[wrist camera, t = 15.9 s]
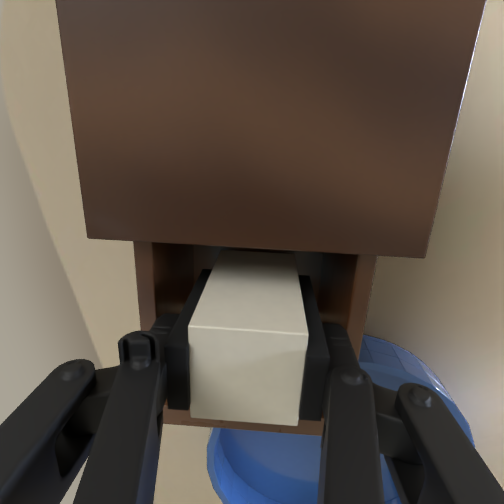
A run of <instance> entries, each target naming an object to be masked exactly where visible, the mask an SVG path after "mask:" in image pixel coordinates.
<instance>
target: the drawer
mask: <svg viewBox="0 0 504 504" xmlns="http://www.w3.org/2000/svg"><path fill="white" fill-rule="evenodd" d="M133 244H134V255H135V267H136V279H137V291H138V303H139V314H140V326H141V330H142V331H149V330H150V329H151V327H152V325H153V324H154V322H155V320H156V319H157V318H158V317H160V316H161V315H163V314H164V313H175V314H180V313H181V311H182V309H183V307H184V305H185V303H186V301H187V299H188V297H189V295H190V293H191V291H192V289H193V287H194V285H195V283H196V281H197V279H198V277H199V275H200V273H201V271H202V269H213V267H214V265H215V262H216V260H217V258H218V255H219V253H220V251H221V250H233V251H249V252H266V253H282V254H294V255H295V260H296V266H297V272H298V275H309V276H310V279H311V283H312V287H313V291H314V295H315V299H316V303H317V307H318V311H319V314H320V318H321V322H322V323H333V324H340V325H341V326H342V327H343V328H344V329H345V330H346V331H347V333H348V335H349V338H350V341H351V344H352V347H353V349H354V352H355V355H356V357H357V360H358V359H359V354H360V348H361V343H362V338H363V332H364V327H365V322H366V316H367V311H368V306H369V300H370V295H371V289H372V284H373V279H374V273H375V268H376V263H377V257H378V256H374V255H357V254H341V253H324V252H307V251H290V250H273V249H257V248H240V247H223V246H206V245H189V244H173V243H156V242H139V241H133ZM163 418H164V419H163V424H174V425H187V426H200V427H212V428H225V429H237V430H250V431H262V432H275V433H287V434H300V435H312V436H322V432H323V426H324V416H323V411H322V418H321V421H310V420H300V419H298V425H297V426H289V425H277V424H265V423H252V422H240V421H227V420H215V419H203V418H192V417H191V416H190V407H189V410H188V411H185V410H172V409H168V407H167V399H166V402H165V404H164V407H163Z"/></svg>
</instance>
